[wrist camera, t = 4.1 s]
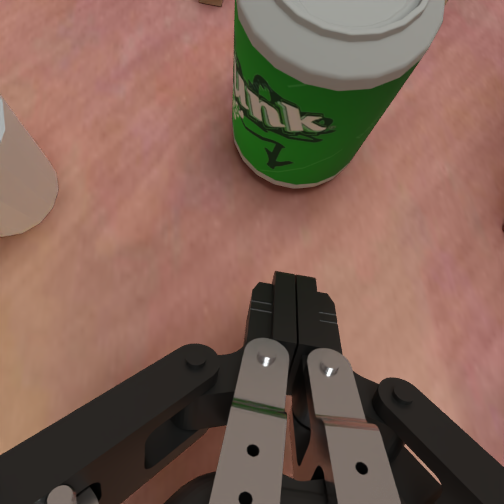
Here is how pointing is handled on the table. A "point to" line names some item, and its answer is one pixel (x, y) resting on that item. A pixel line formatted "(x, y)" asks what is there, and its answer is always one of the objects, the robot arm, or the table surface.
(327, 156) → the soda can
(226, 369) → the robot arm
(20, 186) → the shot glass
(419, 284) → the table surface
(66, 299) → the table surface
